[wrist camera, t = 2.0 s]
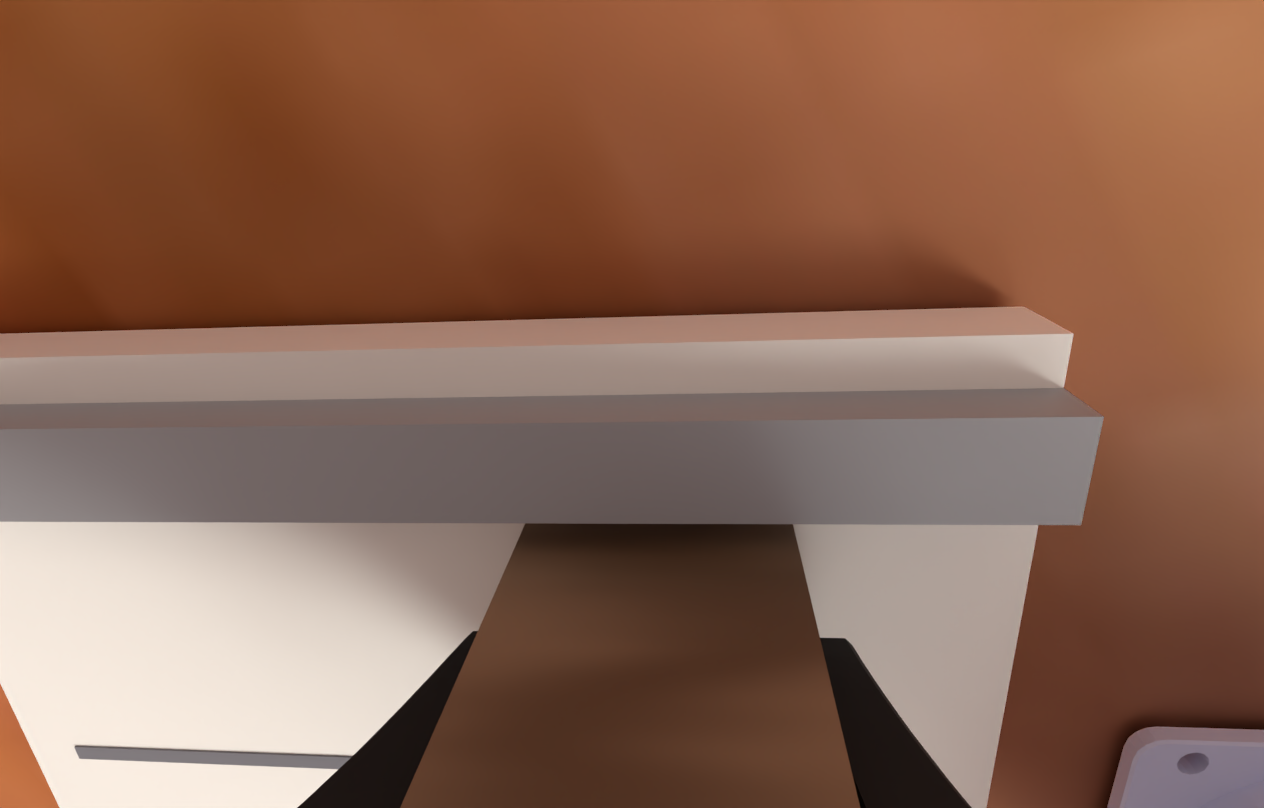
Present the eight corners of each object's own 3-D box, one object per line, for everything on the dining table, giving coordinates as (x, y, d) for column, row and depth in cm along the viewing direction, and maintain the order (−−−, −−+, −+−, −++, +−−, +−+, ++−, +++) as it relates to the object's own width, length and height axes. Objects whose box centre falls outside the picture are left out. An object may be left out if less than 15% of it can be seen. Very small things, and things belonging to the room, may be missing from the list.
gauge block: (791, 518, 10) (897, 964, 5) (783, 724, 12) (859, 1252, 6) (527, 517, 11) (346, 929, 5) (551, 717, 12) (429, 1205, 7)
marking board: (1024, 306, 10) (1115, 356, 8) (927, 926, 16) (967, 1067, 13) (-57, 334, 12) (-233, 383, 10) (172, 882, 17) (91, 998, 15)
